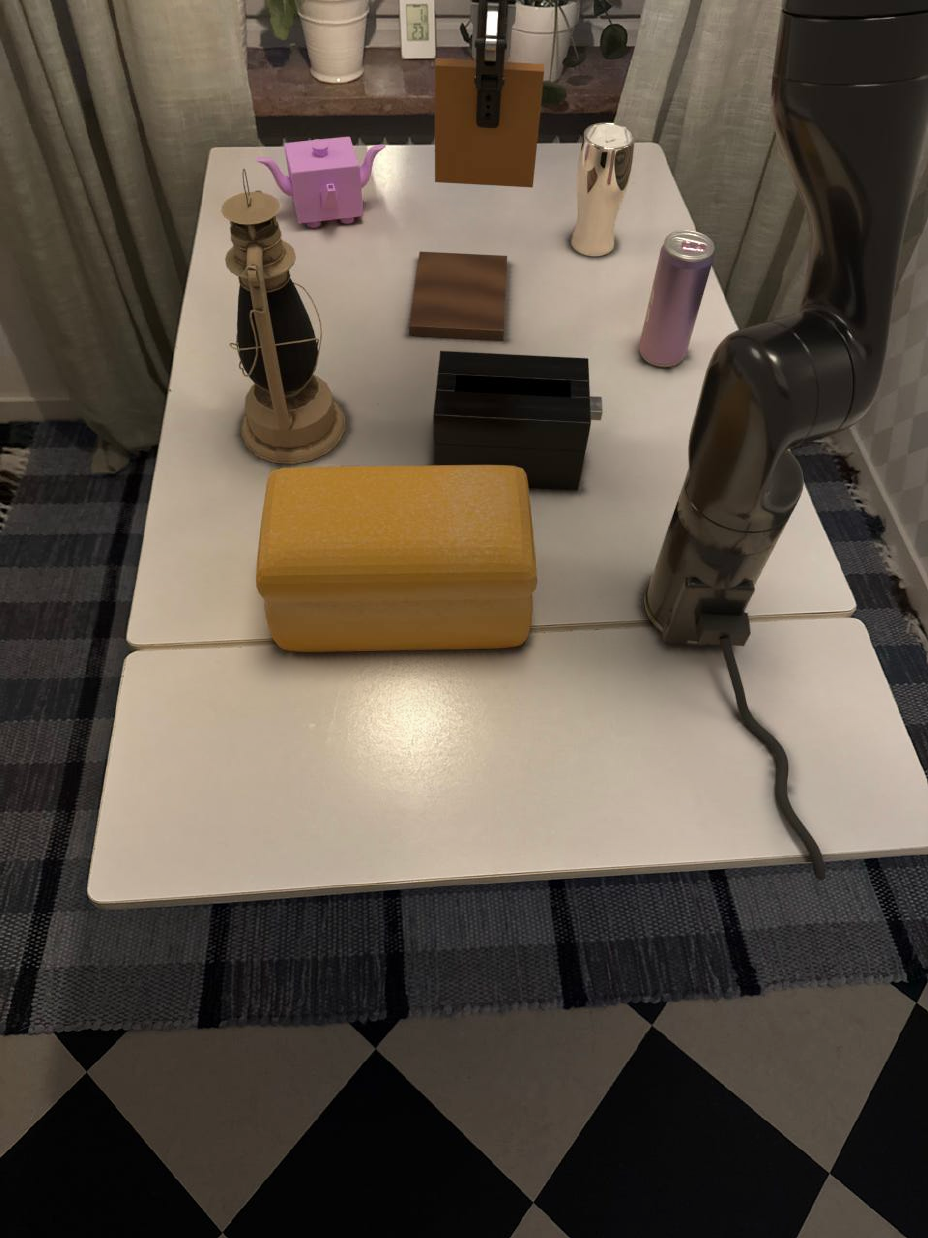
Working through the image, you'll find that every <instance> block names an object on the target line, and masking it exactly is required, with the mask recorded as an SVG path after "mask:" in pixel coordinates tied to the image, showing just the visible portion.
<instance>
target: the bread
mask: <svg viewBox="0 0 928 1238" xmlns="http://www.w3.org/2000/svg"><path fill="white" fill-rule="evenodd" d="M260 522H261V523H260V529H259V536H258V537H259V538H258V547H257V558H256V571H255V587H256V590H257V592H258V593H259V595H260V596H261V597H262V598H263V599H264V604H263V605H264V606H263V607H264V613H265V614H264V615H265V618H266V623H267V626H268V629H269V633H270V635H271V637H272V639H273V641H274V642H275V643H276V645H277V646H278V647H279V648H280V649H282V650H283V651H288V652H295V653H297V652H299V653H327V652H329V653H331V652H376V651H379V652H382V651H383V652H384V651H434V650H479V649H480V650H484V649H485V650H486V649H487V650H488V649H506V648H515V647H519V646H522V645H523V644H525V641H526V640H527V638H528V636H529V634H530V631H531V627H532V620H533V612H534V611H533V609H534V599H533V598H534V597H533V593H534V592H535V590H536V589H537V585H538V575H537V560H536V559H537V558H536V547H535V538H534V525H533V516H532V506H531V499H530V488H528V481H527V475H526V473H525V471H524V470H523V468H519V467H516V466H506V465H436V466H434V465H361V466H360V465H359V466H358V465H357V466H355V465H354V466H353V465H351V466H349V465H348V466H298V467H297V466H296V467H295V466H294V467H281V468H277V469H274V470H271V472H270V474H269V476H268V479H267V482H266V487H265V493H264V499H263V506H262V514H261V521H260Z"/></svg>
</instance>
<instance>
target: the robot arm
mask: <svg viewBox="0 0 928 1238" xmlns="http://www.w3.org/2000/svg"><path fill="white" fill-rule="evenodd" d="M517 2H518V1H517V0H470V5H469V6H470V7H469V8H470V9H469V21H470V23H471V24H472V25H471V26H472V34H471V35H472V37H471V57H472V60H476V75H475V78H474V84H476V89H477V111H476V124H477V126H478V127H481V128H496V127H498V125H499V117H500V101H501V90H502V88H503V86H504V82H505V77H503V72H504V63H505V62H509V60H510V57H511V47H512V35H513V33H512V31H513V27H514V25H515V24H516V17H517V14H516V13H517ZM780 6H781V10H780V15H779V21H778V30H777V39H776V44H775V53H774V61H773V67H772V77H771V86H770V87H771V88H770V112H771V120H772V125H773V129H774V130H773V131H774V133H775V137H776V140H777V143H778V145H779V148H780V152H781V154H782V157H783V160H784V162H785V165H786V167H787V170H788V172H789V174H790V176H791V179H792V181H793V183H794V186H795V188H796V191H797V192H798V195H799V197H800V200H801V203H802V206H803V209H804V212H805V215H806V219H807V223H808V232H809V249H808V260H807V269H806V275H805V281H804V286H803V291H802V295H801V300H800V303H799V305H798V308H797V311H796V312H795V313H793V314H789V315H785V316H782V317H778V318H774V319H770V320H767V321H764V322H761V323H758V324H754V325H749V326H745V327H743V328H739V329H737V330H735V331H732V332H731V333H729V334H728V335H727V336H725V337H724V338H723V339H722V340H721V341H720V343H719V344H718V345H717V347H716V348H715V350H714V351H713V354H712V355H711V358H710V359H709V363H708V365H707V367H706V371H705V374H704V377H703V380H702V384H701V389H700V392H699V393H700V394H699V397H698V400H697V405H696V409H695V413H694V418H693V421H692V424H691V429H690V433H689V437H688V447H687V448H688V449H687V458H688V460H687V461H688V469H687V471H686V475H685V478H684V480H683V481H684V482H683V484H682V487H681V490H680V493H679V495H678V499H677V502H676V505H675V507H674V510H673V513H672V516H671V519H670V521H669V523H668V524H669V525H668V528H667V530H666V533H665V537H664V539H663V542H662V545H661V548H660V551H659V553H658V556H657V559H656V563H655V566H654V568H653V572H652V575H651V578H650V581H649V582H648V584H647V587H646V589H645V593H644V599H643V604H644V609H645V612H646V615H647V617H648V619H649V620H650V623H652V625H653V626H654V627H655V629H657V630H658V631H659V632H660V633H661V634H662V641H663V643H665V644H674V645H688V646H707V647H708V646H709V647H721V651H722V654H723V658H724V662H725V665H726V668H727V672H728V675H729V678H730V682H731V685H732V689H733V692H734V693H733V694H734V697H735V702H736V707H737V710H738V713H739V715H740V717H741V719H742V721H743V722H744V724H745V725H746V727H748V728H749V730H750V731H751V732H752V733H753V734H755V735H756V736H757V737H758V738H759V739H760V740H761V741H763V742H764V743H765V744H766V745H767V746H768V747H769V748H770V749H771V751H772V753H773V754H774V756H775V760H776V763H777V764H776V765H777V772H776V779H775V780H776V782H775V795H776V800H777V802H778V806H779V809H780V811H781V813H782V814H783V815H782V816H784V818H785V820H786V821H787V823H788V824H789V826H790V827H791V828H792V830H793V832H795V834H796V835H797V836H798V838H799V839H800V840H801V842H802V844H803V845H804V848H806V851H807V852H808V855H809V857H810V860H811V864H812V869H813V875H814V877H815V878H816V879H818V881H824V880H825V879H826V868H825V860H824V858H823V854H822V852H821V849H820V848H819V845H818V844H817V842H816V840H815V839H814V837H813V835H812V834H811V833H810V831H809V830H808V829H807V827H806V826H805V825H804V823H803V822H802V820H801V819H800V818H799V817H798V815H797V814H796V812H795V811H794V809H793V807H792V804H791V801H790V799H789V795H788V779H789V771H790V770H789V766H790V765H789V759H788V756H787V753H786V751H785V749H784V747H783V746H782V745H781V743H780V741H779V740H778V739H777V738H775V736H774V735H772V733H770V732H769V731H768V730H767V729H765V728H764V727H763V726H762V725H761V724H760V723H759V722H758V721H757V719H756V718H754V716H753V715H752V713H751V711H750V708H749V706H748V705H749V704H748V702H747V698H746V697H747V696H746V693H745V688H744V685H743V681H742V678H741V674H740V671H739V667H738V664H737V661H736V657H735V654H734V650H733V647H744V646H746V643H747V641H748V640H749V637H750V636H751V634H752V630H751V626H750V619H749V613H748V612H746V609H747V607H748V605H749V603H750V601H751V599H752V597H753V596H754V594H755V591H756V588H755V586H756V584H757V582H758V580H759V578H760V576H761V574H762V573H763V571H764V569H765V566H766V565H767V562H768V560H769V559H770V557H771V555H772V552H773V551H774V549H775V547H776V545H777V543H778V541H779V539H780V537H781V535H782V534H783V532H784V529H785V528H786V526H787V524H788V522H789V520H790V519H791V516H792V514H793V512H794V511H795V509H796V507H797V505H798V503H799V501H800V499H801V496H802V494H803V491H804V485H805V476H804V471H803V468H802V466H801V464H800V462H799V460H798V459H797V457H796V456H795V455H794V454H793V452H792V451H791V449H792V448H797V447H799V446H802V445H805V444H809V443H812V442H815V441H817V440H821V439H824V438H826V437H830V436H832V435H835V434H838V433H840V432H844V431H845V430H847V429H850V428H851V427H853V426H854V425H856V424H857V423H858V422H859V421H861V420H862V419H863V417H864V416H866V414H867V413H868V412H869V411H870V409H871V407H872V405H873V403H874V402H875V399H876V397H877V394H878V391H879V388H880V386H881V381H882V378H883V374H884V369H885V364H886V358H887V351H888V345H889V344H888V343H889V338H890V330H891V323H892V316H893V308H894V301H895V293H896V285H897V279H898V278H897V277H898V271H899V264H900V259H901V253H902V252H901V251H902V246H903V241H904V236H905V232H906V231H905V230H906V226H907V221H908V217H909V213H910V208H911V204H912V199H913V194H914V189H915V184H916V180H917V175H918V171H919V167H920V162H921V157H922V153H923V149H924V143H925V139H926V134H927V130H928V0H781V5H780ZM732 646H733V647H732Z"/></svg>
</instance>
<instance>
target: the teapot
mask: <svg viewBox="0 0 928 1238" xmlns="http://www.w3.org/2000/svg"><path fill="white" fill-rule="evenodd" d="M283 146H284V147H283V148H284V153H285V161H286V166H287V172H288V173H287V174H288V175H285V174H284V173H283V172H282V171H281V169H280V168H279V165H278V164H277V162H276V161H275V160H274V159H272V158H270V157H267V156H266V157H265V156H263V157H262V156H261V157H256V158H255V159H254V161H256V162H257V163H260V164H263V165H264V166H265V167H267V168H268V170H269V171H270V173H271V175H272V176H273V179H274V181H275V183H276V186H277V187H278V188H279V189H280V191H281V192H282V193H283V194H284V195H286V196H287V197H291V198H292V201H293V206H294V209H295V214H296V218H297V222H298V224H306V225H307V226H308V227H309V228H312V229H313V228H319V227H320V226H321V225H322V222H325V221H332V220H340V222H341V223H342V224H345V225H346V224H347V225H348V224H352V223H353V222H354V221H355V219H354V218H358V217H364V216H365V214H364V204H363V203H364V202H363V201H364V200H363V189H364V188H365V187H366V186H367V185H368V183H369V181H370V178H371V177H372V176H371V175H372V170H373V166H374V161H375V159H376V156H377V155H378V154H379V152H381V151H382V150H384V149H385V148H386V147H387V146H386V145H385V144H377V145H373V146H371V147H370V148H369V149H368V150H367V152H366V154H365V157H364V161H363V163H362V164H361V165H360V164H359V161H358V157H357V154H356V151H355V148H354V145H353V141H352V140H351V137H350V136H341V137H332V138H323V139H319V138H316V139H313V140H304V141H293V142H285V143H284V144H283Z"/></svg>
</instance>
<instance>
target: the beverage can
mask: <svg viewBox="0 0 928 1238" xmlns="http://www.w3.org/2000/svg"><path fill="white" fill-rule="evenodd" d="M715 248H716V247H715V243H714V241H713V240H712V239H711V238H710V237H709V236H707V235H706V234H704V233H702V232H699V231H697V230H688V229H683V230H682V229H680V230H676V231H673V232H671V233H669V234H668V235H666V237H665V239H664V242H663V244H662V245H661V248H660V252H659V255H658V259H657V265H656V269H655V273H654V278H653V281H652V286H651V290H650V295H649V299H648V304H647V309H646V312H645V317H644V321H643V325H642V329H641V334H640V338H639V343H638V350H639V353H640V356H641V357H642V358H643V359H644V361H645V362H647V363H648V364H650V365H652V366H655V367H660V368H670V367H674V366H676V365H678V364H679V363H681V362H682V361H683V360H684V359H685V357H686V356H687V353H688V349H689V346H690V342H691V339H692V335H693V333H694V332H693V331H694V329H695V325H696V321H697V318H698V315H699V311H700V307H701V305H702V301H703V297H704V293H705V290H706V288H707V287H706V286H707V283H708V279H709V276H710V272H711V269H712V265H713V263H714V260H715V259H714V258H715V255H714V252H715Z"/></svg>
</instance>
